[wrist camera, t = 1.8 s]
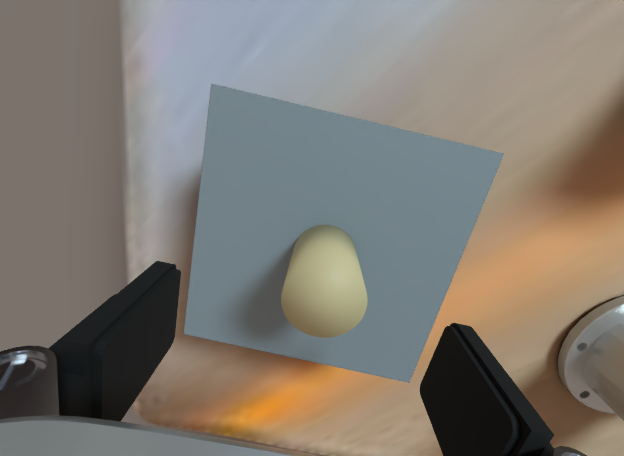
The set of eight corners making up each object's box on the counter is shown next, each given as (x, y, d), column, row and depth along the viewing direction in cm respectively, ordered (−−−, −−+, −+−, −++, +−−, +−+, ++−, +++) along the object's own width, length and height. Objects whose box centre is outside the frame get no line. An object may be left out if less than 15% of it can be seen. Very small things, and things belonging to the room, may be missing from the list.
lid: (491, 151, 17) (583, 164, 11) (404, 369, 21) (435, 461, 15) (219, 86, 16) (157, 62, 10) (191, 322, 21) (138, 399, 15)
